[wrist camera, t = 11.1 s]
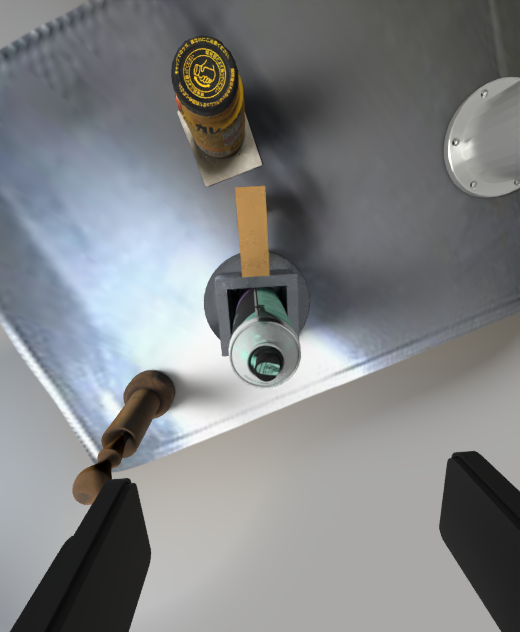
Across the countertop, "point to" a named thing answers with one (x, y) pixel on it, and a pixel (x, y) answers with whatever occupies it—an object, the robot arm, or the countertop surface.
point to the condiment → (213, 109)
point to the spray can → (263, 340)
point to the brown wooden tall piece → (126, 430)
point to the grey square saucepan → (253, 271)
